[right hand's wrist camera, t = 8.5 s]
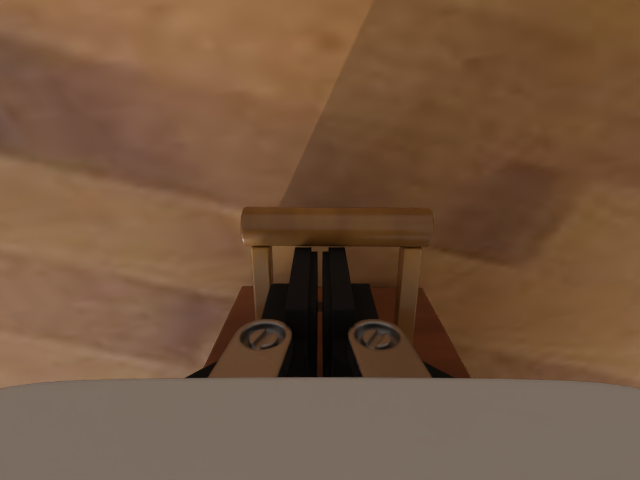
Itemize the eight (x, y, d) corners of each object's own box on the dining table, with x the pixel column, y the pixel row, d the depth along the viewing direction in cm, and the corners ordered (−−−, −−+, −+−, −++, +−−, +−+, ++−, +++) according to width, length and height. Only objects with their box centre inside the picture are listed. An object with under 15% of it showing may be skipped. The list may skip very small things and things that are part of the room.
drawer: (233, 178, 16) (131, 252, 8) (434, 179, 16) (555, 255, 7) (256, 466, 22) (213, 686, 14) (402, 468, 22) (450, 691, 13)
